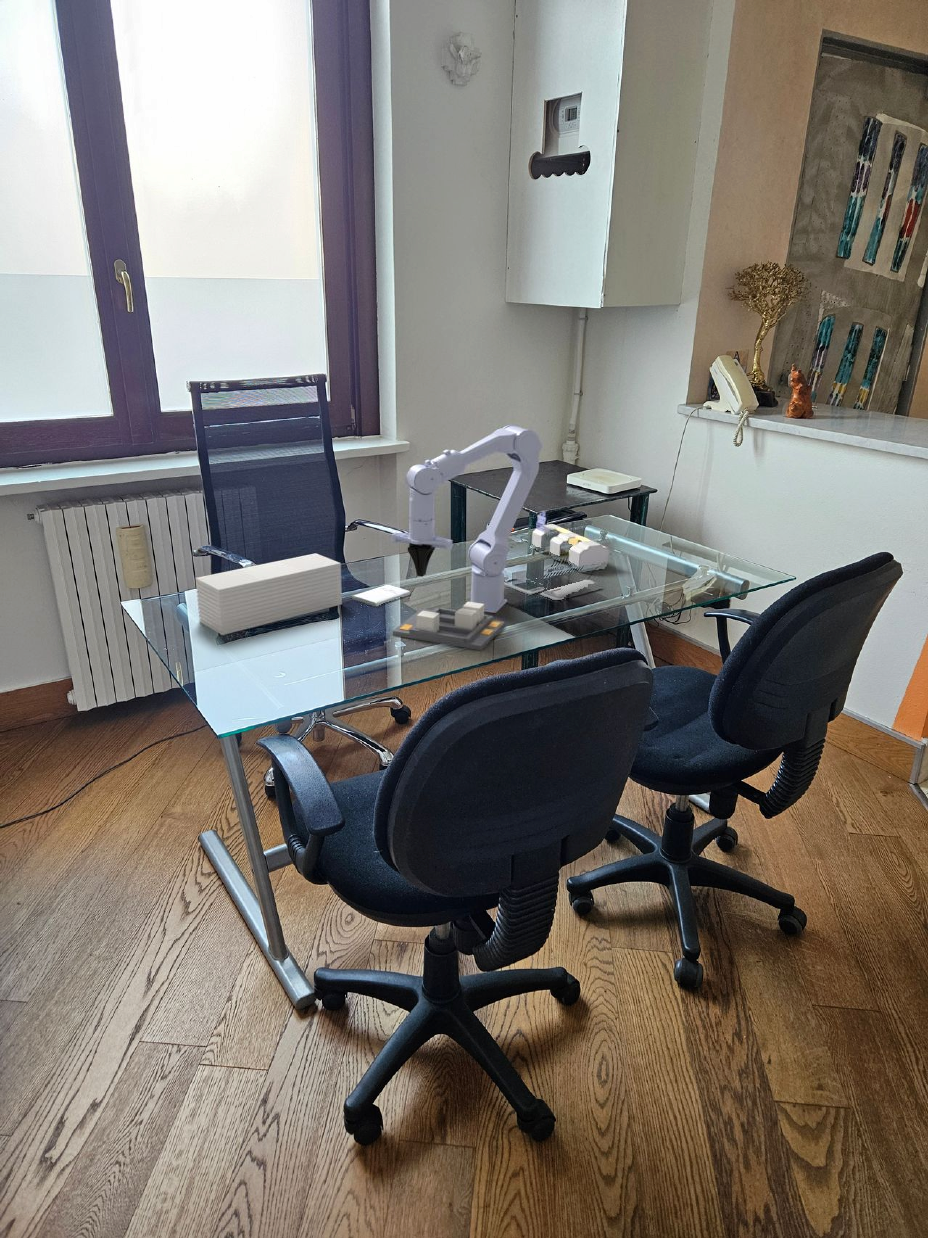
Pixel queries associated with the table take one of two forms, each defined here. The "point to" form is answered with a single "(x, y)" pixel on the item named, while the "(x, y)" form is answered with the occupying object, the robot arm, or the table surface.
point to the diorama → (581, 549)
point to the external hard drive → (381, 595)
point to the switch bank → (451, 630)
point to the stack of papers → (268, 592)
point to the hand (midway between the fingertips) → (421, 575)
